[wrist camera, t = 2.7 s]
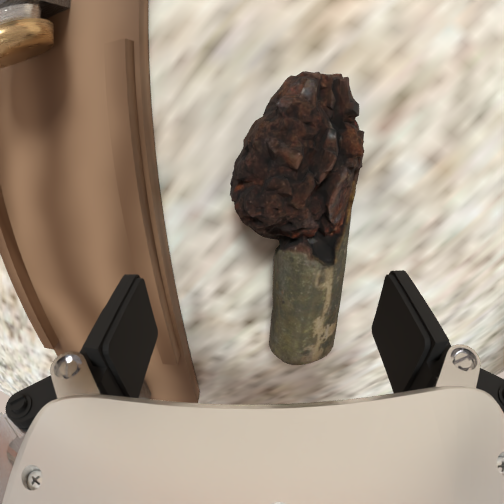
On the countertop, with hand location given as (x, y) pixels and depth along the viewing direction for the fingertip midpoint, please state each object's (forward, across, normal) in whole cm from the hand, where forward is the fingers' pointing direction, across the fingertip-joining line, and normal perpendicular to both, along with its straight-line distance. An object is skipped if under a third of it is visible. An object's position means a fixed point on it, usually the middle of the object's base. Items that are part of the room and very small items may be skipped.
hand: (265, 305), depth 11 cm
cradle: (+9, +13, 0) cm, 16 cm away
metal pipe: (+9, -2, 0) cm, 9 cm away
